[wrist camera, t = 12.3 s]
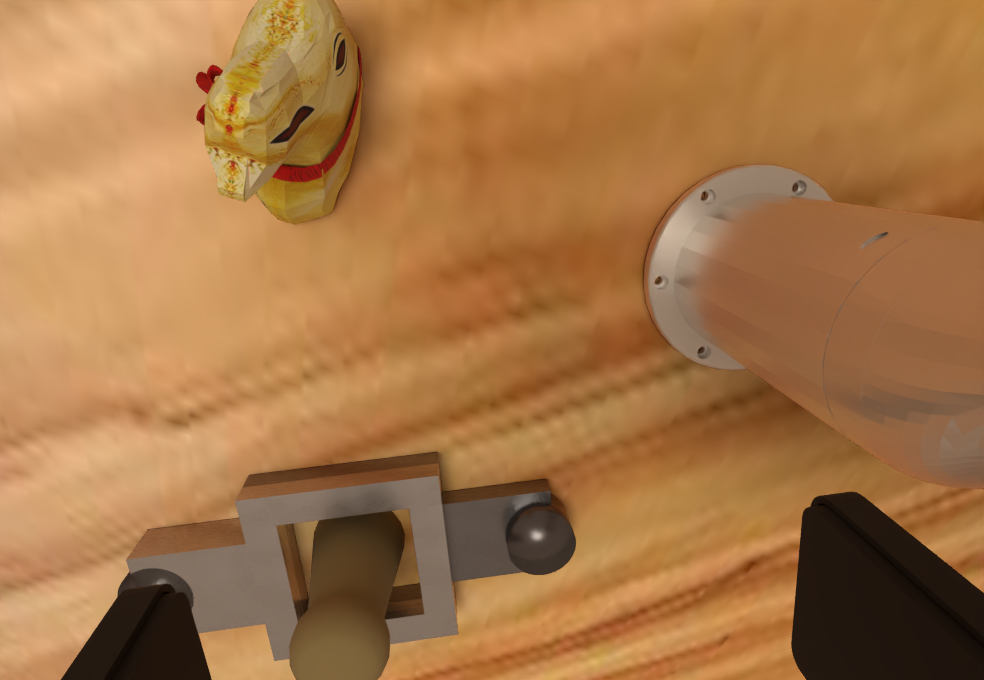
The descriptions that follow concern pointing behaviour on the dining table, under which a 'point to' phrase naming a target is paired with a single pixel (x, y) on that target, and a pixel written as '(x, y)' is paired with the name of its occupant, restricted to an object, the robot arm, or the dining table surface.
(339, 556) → the cork
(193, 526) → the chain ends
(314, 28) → the chocolate bunny
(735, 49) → the dining table surface
